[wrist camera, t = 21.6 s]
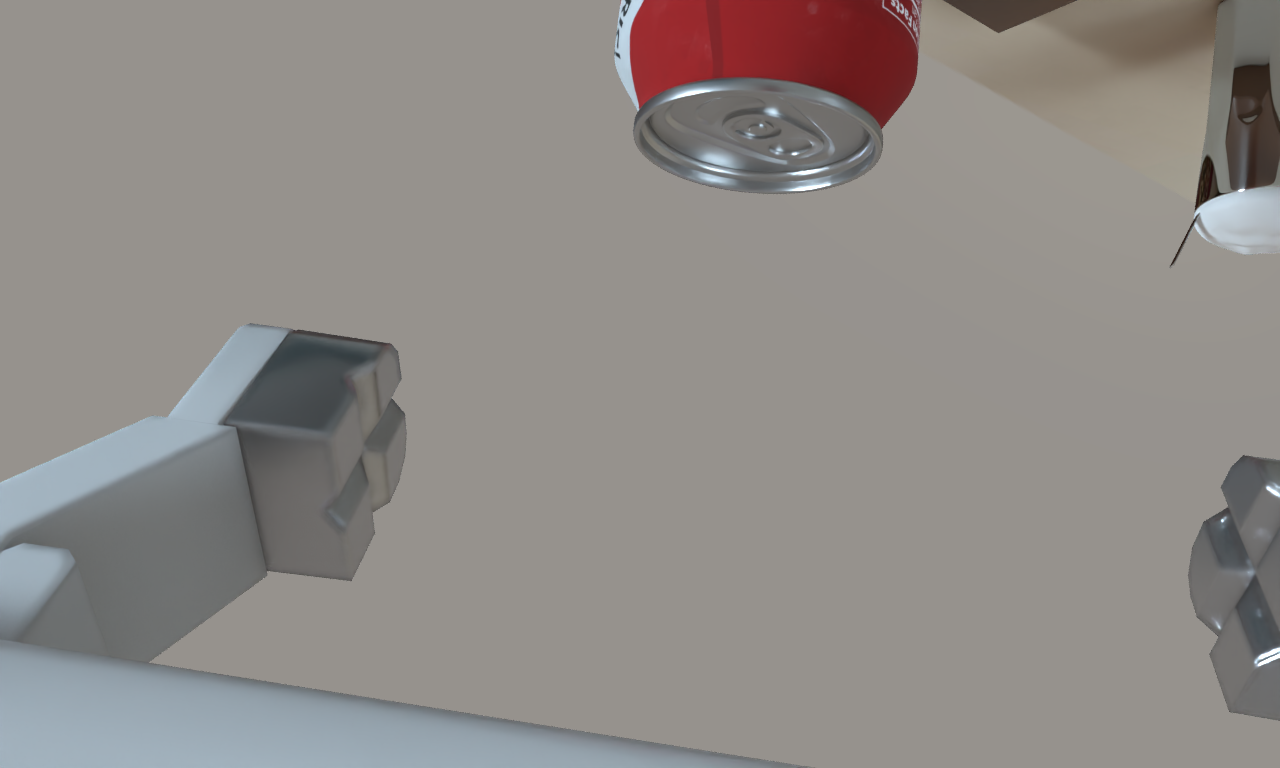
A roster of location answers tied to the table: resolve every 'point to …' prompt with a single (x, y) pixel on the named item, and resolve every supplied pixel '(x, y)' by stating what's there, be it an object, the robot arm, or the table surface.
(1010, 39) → the table surface
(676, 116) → the soda can
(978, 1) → the serving board
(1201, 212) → the milkshake
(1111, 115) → the table surface
